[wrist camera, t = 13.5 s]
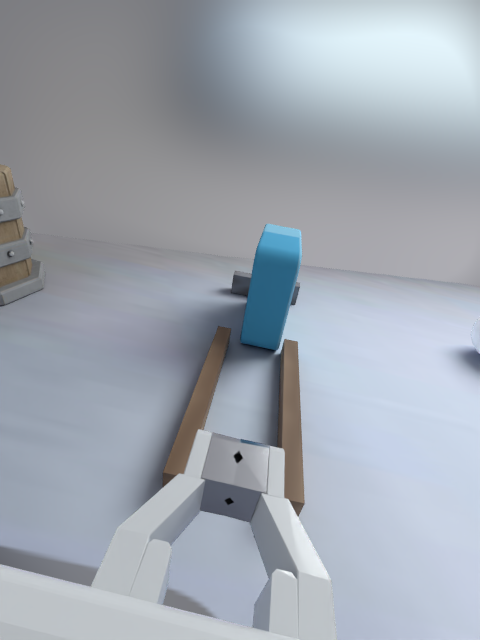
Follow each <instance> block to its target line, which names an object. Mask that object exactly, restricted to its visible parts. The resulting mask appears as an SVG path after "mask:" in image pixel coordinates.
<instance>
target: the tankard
mask: <svg viewBox="0 0 480 640" xmlns="http://www.w3.org/2000/svg"><path fill="white" fill-rule="evenodd" d="M24 208H25V203H24V201H23V196H22V192H21V189H19V188H15V187H14V183H13V178H12V174H11V170H10V168H9V167H7V166H4V165H0V306H2V305H7V304H9V303H11V302H13V301H16V300H18V299H20V298H23V297H25V296H27V295H30V294H32V293H34V292H37V291H39V290H41V289H43V287H44V277H45V269H44V264H43V263H42V262H40V261H36V260H33V259H31V252H32V247H33V240H32V237H31V232H30V229H29V228H26V227H24V226H23V222H22V218H21V217H22V214H23V211H24Z"/></svg>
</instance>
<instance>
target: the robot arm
mask: <svg viewBox="0 0 480 640" xmlns="http://www.w3.org/2000/svg"><path fill="white" fill-rule="evenodd" d="M284 467H285V452H284V449H283V448H278V447H273V446H269V445H266V444H262V443H257V442H252V441H248V440H243V439H241V440H240V439H236V438H232V437H228V436H224V435H220V434H217V433H213V432H209V431H204V430H200V429H198V431H197V433H196V436H195V439H194V442H193V445H192V449H191V452H190V455H189V458H188V461H187V464H186V468H185V471H184V474H180V473H179V474H178V475H177V476H175V477H174V478H173V479H172V480H171V481H170V482H169V483H168V484H166V485H165V486H164V487H163V488H162V489H161V490H160V491H158V492H157V493H156V494H155V495H154V496H153V497H152V498H150V499H149V500H148V501H147V502H146V503H145V504H144V505H143V506H141V507H140V508H139V509H138V510H137V511H136V512H135V513H133V514H132V515H131V516H130V517H129V518H128V519H127V520H126V521H124V522H123V523H122V524H121V525H120V526H119V527H118V528H117V529H116V532H115V534H114V536H113V538H112V541H111V543H110V545H109V547H108V549H107V552H106V554H105V556H104V558H103V561H102V563H101V565H100V567H99V570H98V572H97V574H96V577H95V579H94V581H93V583H92V585H91V587H89V586H85V585H80V584H77V583H73V582H69V581H65V580H61V579H57V578H53V577H49V576H45V575H41V574H37V573H33V572H29V571H25V570H21V569H17V568H13V567H9V566H5V565H1V564H0V640H337V635H336V624H335V613H334V602H333V592H332V581H331V579H330V577H329V575H328V573H327V571H326V569H325V568H324V566H323V564H322V562H321V560H320V558H319V556H318V554H317V552H316V550H315V549H314V547H313V545H312V543H311V541H310V539H309V537H308V535H307V533H306V531H305V530H304V528H303V526H302V524H301V522H300V520H299V518H298V516H297V514H296V512H295V511H294V509H293V507H292V505H291V503H290V501H289V499H286V498H284ZM199 511H205V512H210V513H214V514H219V515H224V516H228V517H232V518H235V519H239V520H243V521H246V522H250V525H251V528H252V531H253V534H254V537H255V540H256V543H257V546H258V549H259V552H260V554H261V557H262V560H263V563H264V566H265V569H266V572H267V575H268V578H269V580H268V582H267V583H266V585H265V587H264V589H263V590H262V592H261V594H260V596H259V597H258V599H257V601H256V603H255V605H254V617H253V628H252V627H248V626H244V625H240V624H236V623H232V622H228V621H224V620H220V619H216V618H212V617H208V616H204V615H200V614H196V613H192V612H188V611H184V610H180V609H176V608H172V607H168V606H164V605H163V602H164V598H165V594H166V590H167V586H168V582H169V572H170V563H171V554H172V548H171V545H172V544H173V542H174V541H175V540H176V539H177V538H178V537H179V535H180V534H181V533H182V532H183V531H184V530H185V528H186V527H187V526H188V525H189V524H190V523H191V521H192V520H193V519H194V518H195V517H196V516H197V514H198V513H199Z"/></svg>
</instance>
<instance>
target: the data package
mask: <svg viewBox="0 0 480 640" xmlns="http://www.w3.org/2000/svg"><path fill="white" fill-rule="evenodd" d="M301 258H302V247H301V231H300V230H298V229H293V228H287V227H282V226H277V225H271V224H266V225H265V228H264V231H263V233H262V236H261V238H260V241H259V244H258V246H257V250H256V254H255V259H254V264H253V270H252V275H251V281H250V287H249V292H248V298H247V304H246V310H245V315H244V321H243V327H242V332H241V338H240V342H241V343H244V344H249V345H253V346H258V347H263V348H267V349H272V350H278V348H279V345H280V342H281V338H282V334H283V330H284V326H285V323H286V319H287V315H288V311H289V307H290V303H291V300H292V296H293V292H294V288H295V284H296V281H297V277H298V273H299V269H300V264H301Z"/></svg>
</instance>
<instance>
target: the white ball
mask: <svg viewBox="0 0 480 640" xmlns="http://www.w3.org/2000/svg"><path fill="white" fill-rule="evenodd" d="M471 339H472V343H473V345H474V347H475V349H476V350H477V352H478V353H479V354H480V317H479V318H478V319H477V320H476V322H475V323H474V325H473V328H472V331H471Z"/></svg>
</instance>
